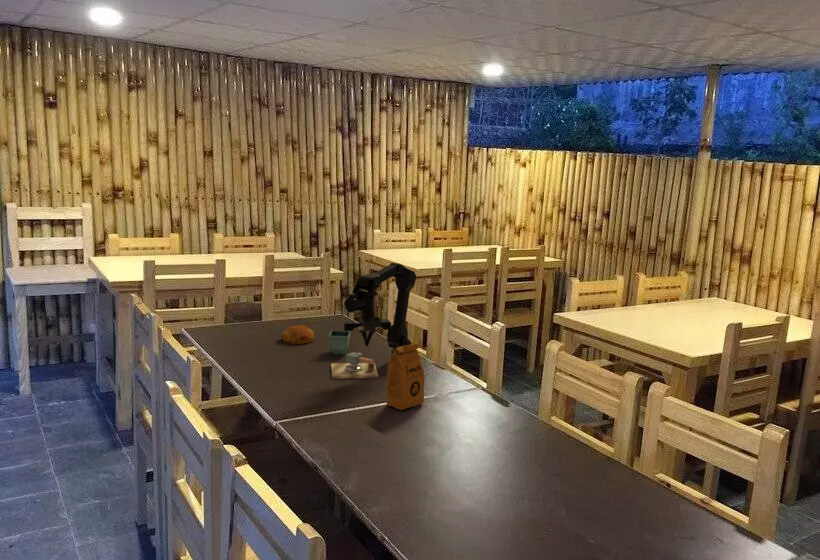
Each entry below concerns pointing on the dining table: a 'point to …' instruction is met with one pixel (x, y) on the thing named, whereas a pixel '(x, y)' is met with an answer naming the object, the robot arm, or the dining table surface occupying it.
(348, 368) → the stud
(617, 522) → the dining table surface
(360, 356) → the cap
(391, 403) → the coffee package
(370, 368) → the block
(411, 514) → the dining table surface
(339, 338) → the flower pot
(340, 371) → the board
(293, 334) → the croissant
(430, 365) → the dining table surface
